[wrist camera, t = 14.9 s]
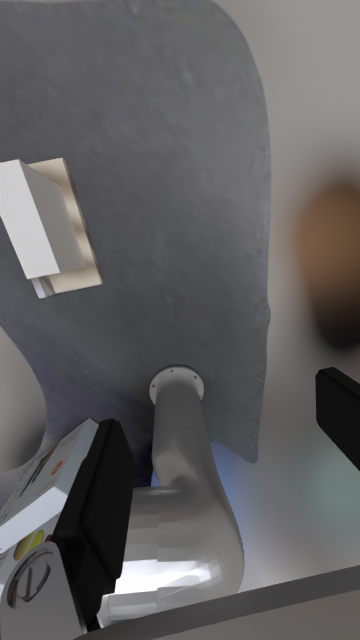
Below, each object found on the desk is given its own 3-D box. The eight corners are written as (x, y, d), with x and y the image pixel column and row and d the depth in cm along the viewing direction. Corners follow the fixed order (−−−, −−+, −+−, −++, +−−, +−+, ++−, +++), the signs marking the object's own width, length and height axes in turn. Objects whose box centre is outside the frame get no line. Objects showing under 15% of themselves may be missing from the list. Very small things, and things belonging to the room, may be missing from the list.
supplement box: (71, 503, 58) (35, 598, 42) (50, 519, 60) (8, 617, 44) (42, 487, 56) (-8, 582, 40) (21, 505, 57) (-35, 603, 41)
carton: (60, 185, 33) (18, 159, 24) (86, 267, 37) (59, 272, 28) (31, 191, 33) (-22, 167, 24) (61, 272, 37) (25, 279, 28)
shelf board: (104, 282, 40) (96, 286, 35) (51, 293, 40) (36, 298, 35) (66, 161, 34) (51, 147, 29) (3, 174, 33) (-22, 162, 29)
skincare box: (88, 415, 49) (53, 486, 34) (105, 427, 51) (79, 502, 36) (30, 461, 53) (-24, 545, 38) (48, 472, 54) (3, 557, 39)
